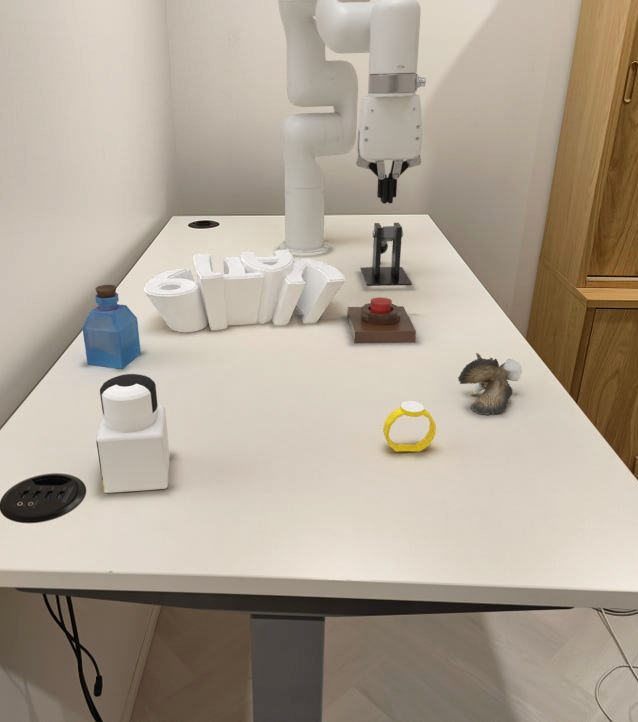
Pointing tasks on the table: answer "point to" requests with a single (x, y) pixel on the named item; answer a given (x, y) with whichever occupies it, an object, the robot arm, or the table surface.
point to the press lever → (386, 237)
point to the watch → (414, 411)
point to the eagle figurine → (490, 383)
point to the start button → (380, 305)
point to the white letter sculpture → (244, 291)
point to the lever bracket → (395, 272)
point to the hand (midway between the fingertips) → (386, 201)
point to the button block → (381, 325)
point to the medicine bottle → (132, 436)
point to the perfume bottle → (110, 331)
